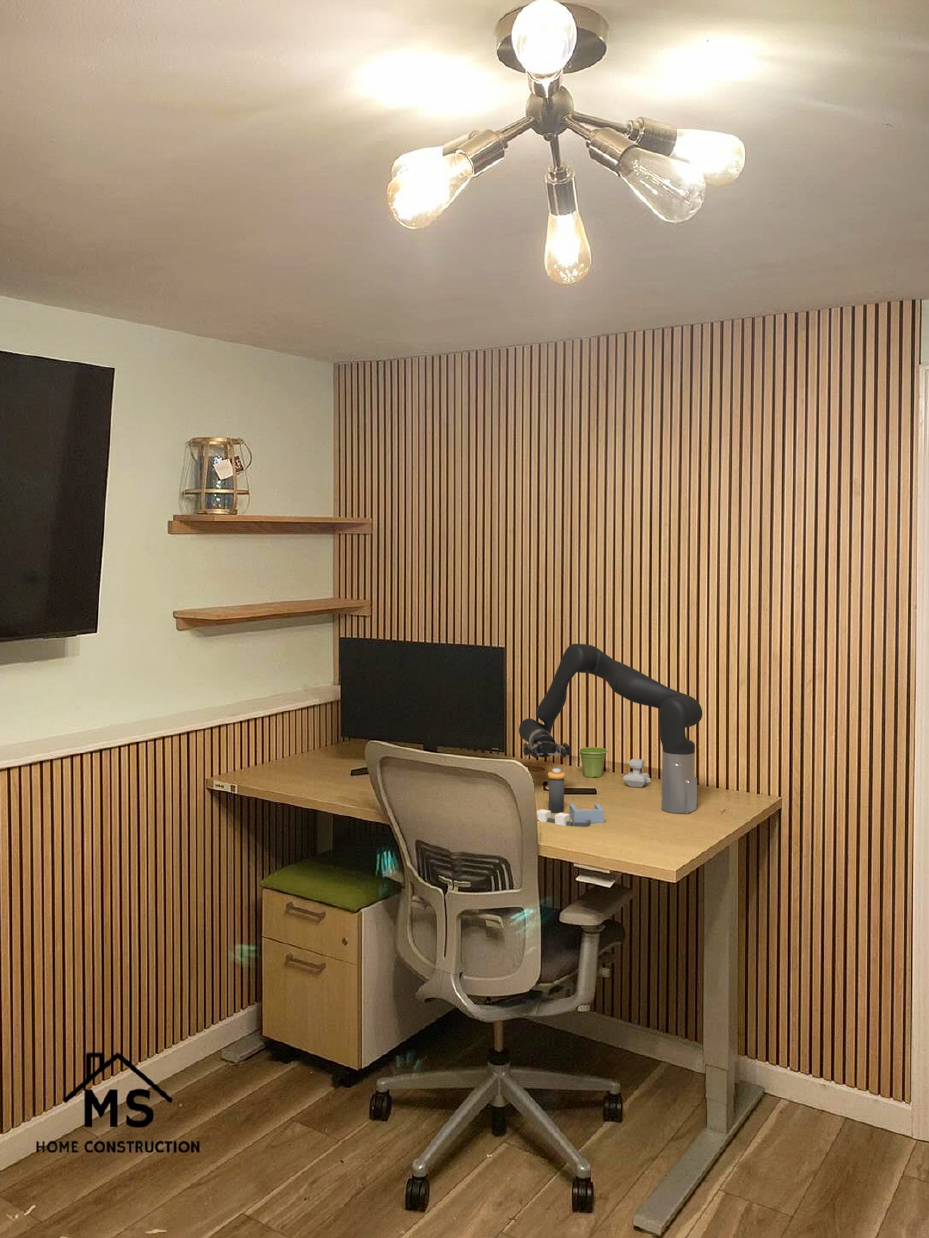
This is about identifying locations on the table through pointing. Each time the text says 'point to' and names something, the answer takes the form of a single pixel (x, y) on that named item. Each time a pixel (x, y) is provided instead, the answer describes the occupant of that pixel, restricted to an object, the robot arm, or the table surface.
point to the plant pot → (593, 761)
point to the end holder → (587, 814)
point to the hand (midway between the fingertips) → (549, 754)
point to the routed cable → (559, 819)
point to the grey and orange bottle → (556, 790)
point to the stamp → (636, 774)
